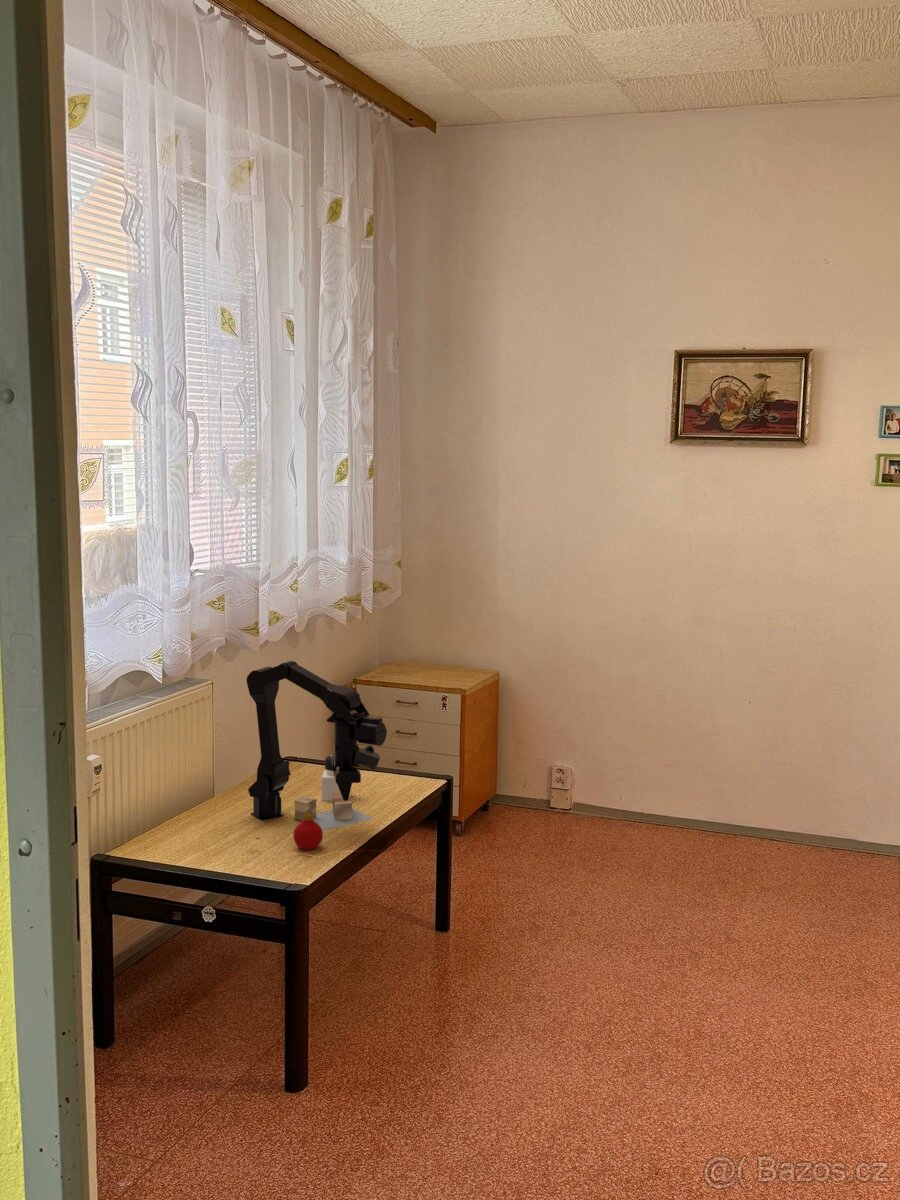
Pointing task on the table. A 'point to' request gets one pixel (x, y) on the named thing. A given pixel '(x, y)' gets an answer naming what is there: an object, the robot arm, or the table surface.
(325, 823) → the mat
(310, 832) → the christmas ornament
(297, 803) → the maple block
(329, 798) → the medicine bottle
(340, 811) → the walnut block
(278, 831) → the table surface
